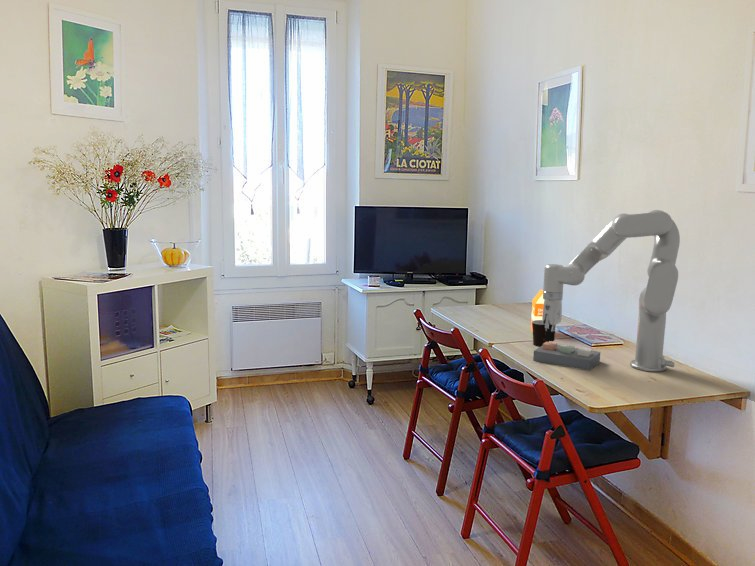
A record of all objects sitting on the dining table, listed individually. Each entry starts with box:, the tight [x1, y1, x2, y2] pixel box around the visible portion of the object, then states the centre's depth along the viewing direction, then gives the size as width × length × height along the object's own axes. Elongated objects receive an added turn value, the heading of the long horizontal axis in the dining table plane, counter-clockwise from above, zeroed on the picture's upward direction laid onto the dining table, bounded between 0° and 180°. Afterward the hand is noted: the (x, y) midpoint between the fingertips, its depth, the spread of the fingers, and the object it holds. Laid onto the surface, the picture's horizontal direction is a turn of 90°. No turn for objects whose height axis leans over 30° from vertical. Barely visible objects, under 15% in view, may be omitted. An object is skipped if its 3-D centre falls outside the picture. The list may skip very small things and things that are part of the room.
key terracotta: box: [542, 341, 558, 351], centre depth 245 cm, size 4×4×3 cm
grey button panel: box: [532, 344, 601, 371], centre depth 242 cm, size 22×14×4 cm, turn 55°
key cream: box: [578, 346, 594, 357], centre depth 238 cm, size 4×4×3 cm
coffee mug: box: [531, 320, 550, 347], centre depth 266 cm, size 12×9×10 cm
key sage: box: [560, 344, 576, 354], centre depth 241 cm, size 4×4×3 cm
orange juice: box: [530, 288, 544, 333], centre depth 286 cm, size 8×9×20 cm
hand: (549, 340), depth 245 cm, fingers closed
